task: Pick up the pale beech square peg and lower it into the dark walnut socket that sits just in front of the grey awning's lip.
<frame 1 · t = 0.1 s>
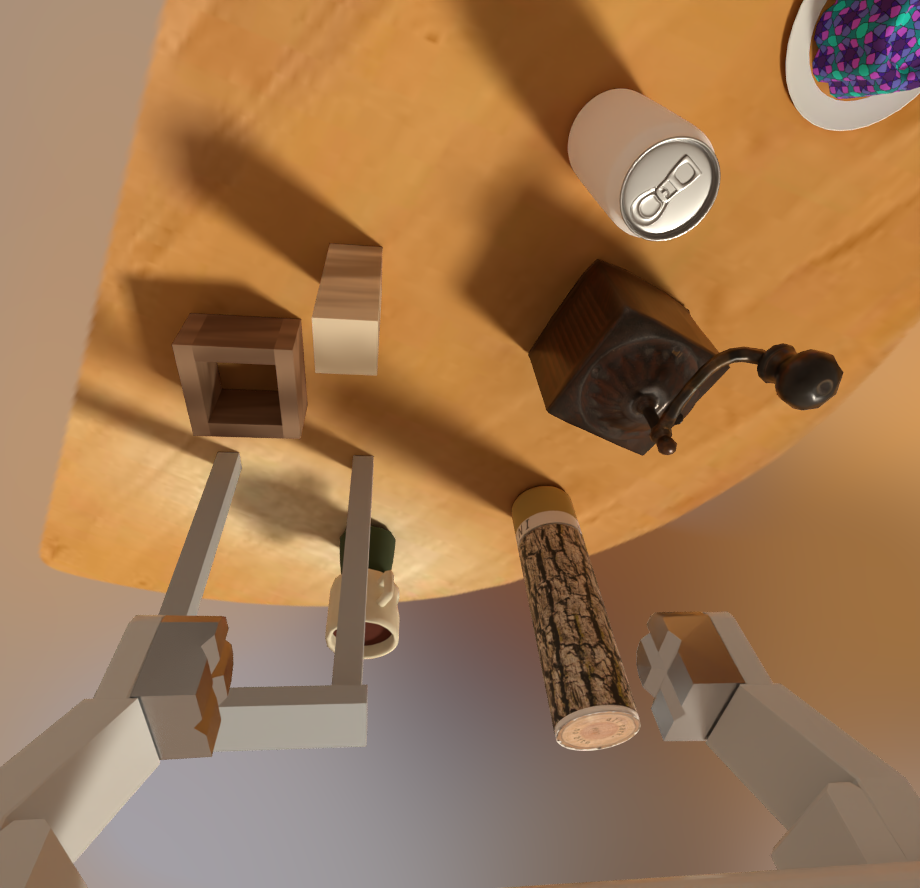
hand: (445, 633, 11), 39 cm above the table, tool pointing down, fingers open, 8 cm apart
pudding: (870, 27, 39), on the table
awning: (296, 450, 58), on the table
peg: (356, 269, 47), on the table
socket: (252, 361, 51), on the table
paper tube: (540, 503, 66), on the table
can: (610, 138, 42), on the table
manual coffee grinder: (625, 308, 51), on the table
character mug: (368, 537, 67), on the table
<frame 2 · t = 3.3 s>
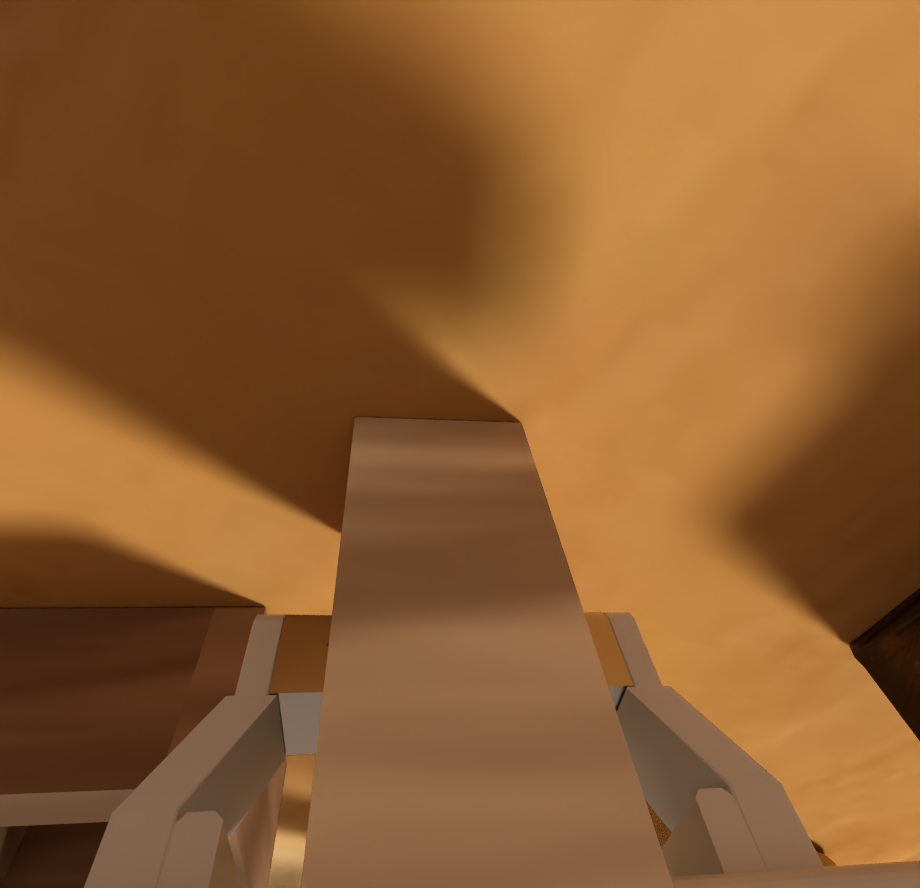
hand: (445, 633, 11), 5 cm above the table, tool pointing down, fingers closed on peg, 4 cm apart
peg: (433, 485, 15), on the table, touching gripper
socket: (137, 699, 19), on the table
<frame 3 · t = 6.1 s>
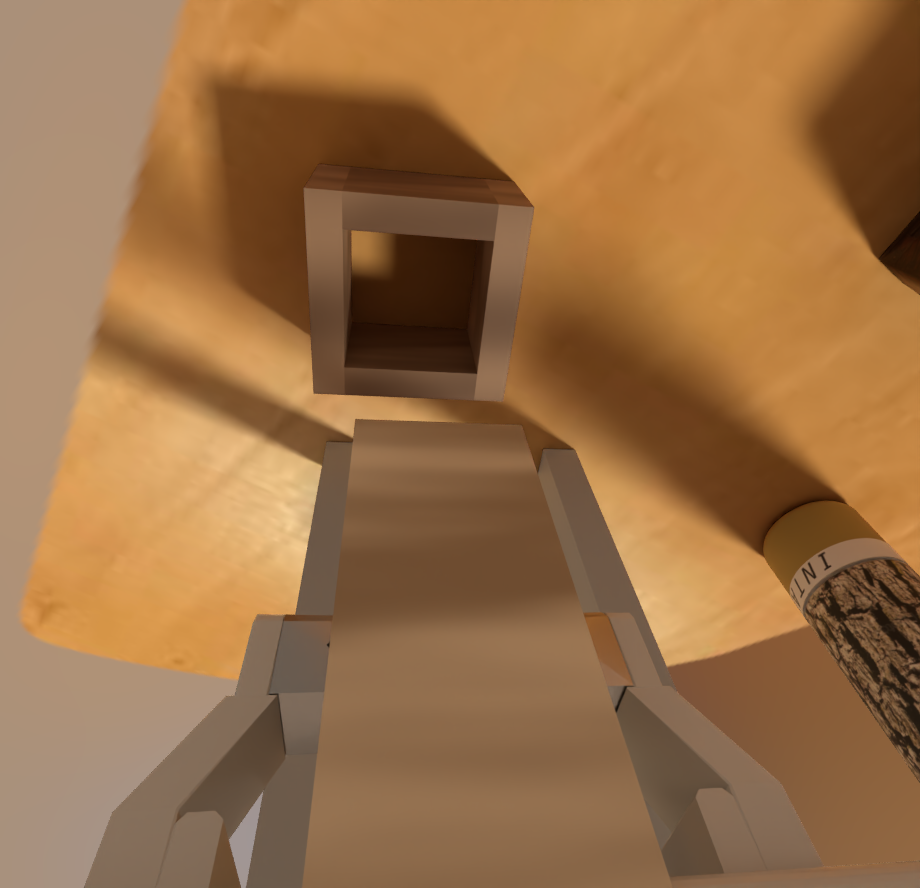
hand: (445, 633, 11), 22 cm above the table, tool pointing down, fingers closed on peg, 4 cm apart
awning: (454, 438, 35), on the table
peg: (434, 487, 15), point 17 cm above the table, touching gripper
socket: (413, 269, 29), on the table
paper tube: (804, 529, 42), on the table
when the fingers open (7 cm above the table, at t = 8.8 s): peg drops 2 cm, resting in socket.
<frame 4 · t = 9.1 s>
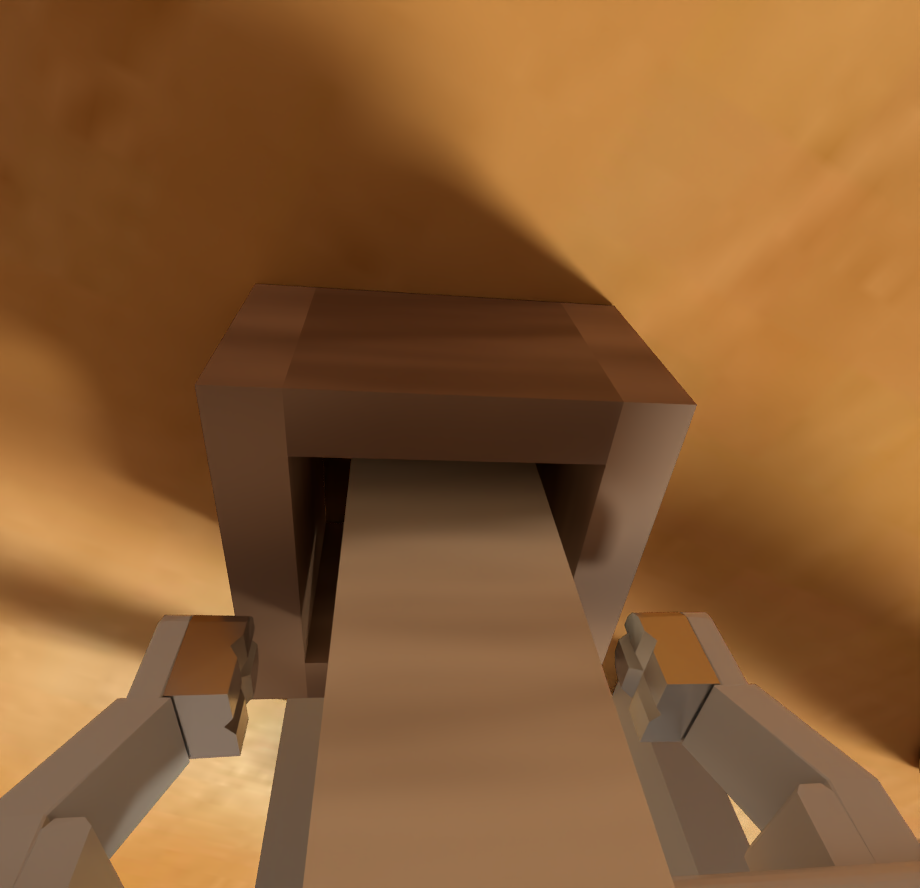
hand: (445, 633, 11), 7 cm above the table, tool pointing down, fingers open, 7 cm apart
awning: (490, 661, 23), on the table
peg: (431, 444, 17), resting in socket
socket: (429, 444, 17), on the table
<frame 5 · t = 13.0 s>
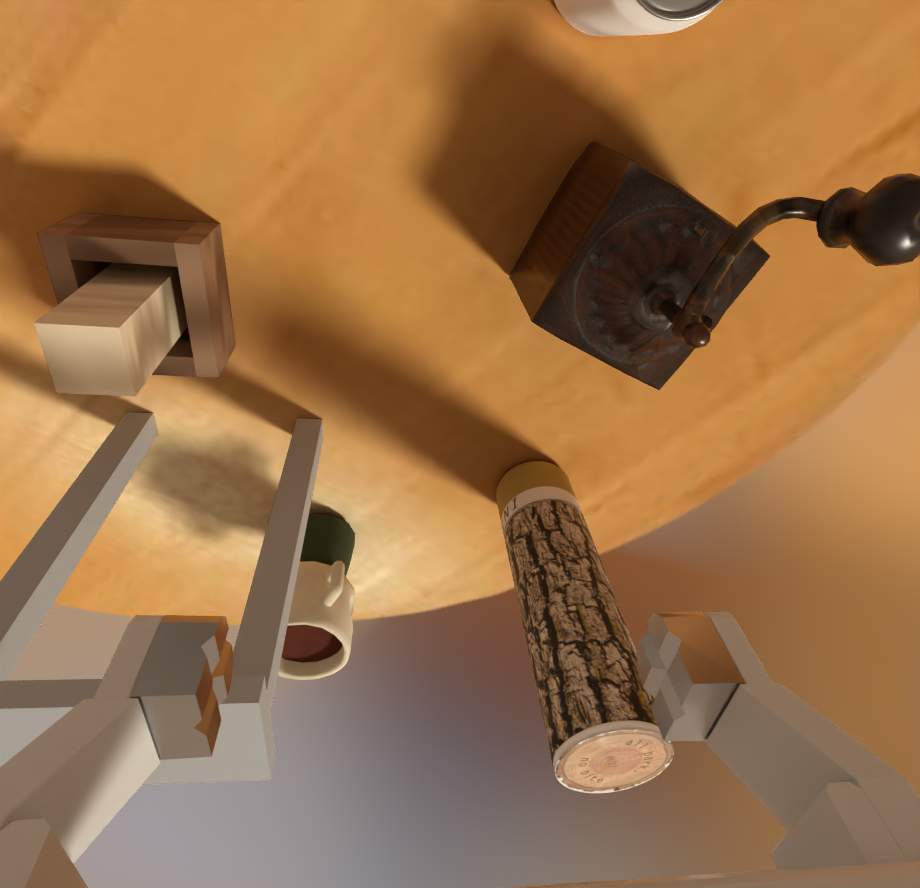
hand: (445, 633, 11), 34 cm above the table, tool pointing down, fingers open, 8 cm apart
awning: (225, 410, 47), on the table
peg: (162, 284, 41), resting in socket
socket: (161, 284, 41), on the table
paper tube: (531, 485, 54), on the table
manual coffee grinder: (629, 214, 41), on the table
character mug: (321, 531, 55), on the table
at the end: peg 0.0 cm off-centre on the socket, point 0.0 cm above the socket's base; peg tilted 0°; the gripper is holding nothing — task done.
